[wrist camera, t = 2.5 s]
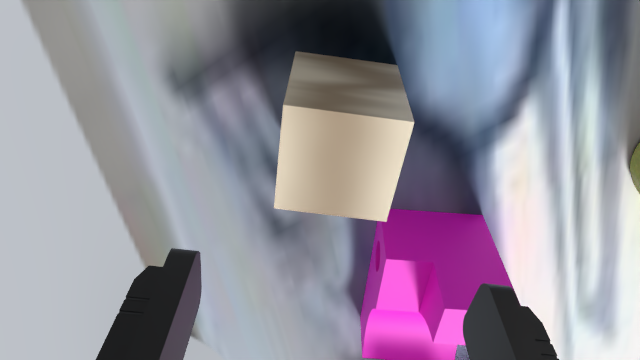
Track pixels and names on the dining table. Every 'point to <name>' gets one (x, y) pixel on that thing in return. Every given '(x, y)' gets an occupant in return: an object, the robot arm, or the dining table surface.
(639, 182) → the plant pot
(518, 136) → the dining table surface
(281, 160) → the maple brick
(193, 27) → the dining table surface
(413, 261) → the toy block
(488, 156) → the dining table surface
